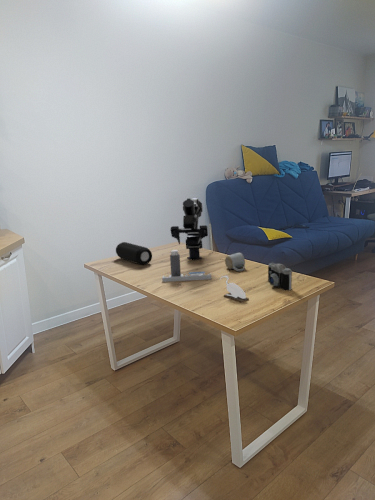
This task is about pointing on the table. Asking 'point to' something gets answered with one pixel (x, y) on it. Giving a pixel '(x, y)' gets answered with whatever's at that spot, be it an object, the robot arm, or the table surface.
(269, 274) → the camera
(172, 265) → the grey upright cylinder
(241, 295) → the figurine
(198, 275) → the white tray
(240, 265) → the ceramic mug
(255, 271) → the table surface
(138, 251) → the portable speaker
